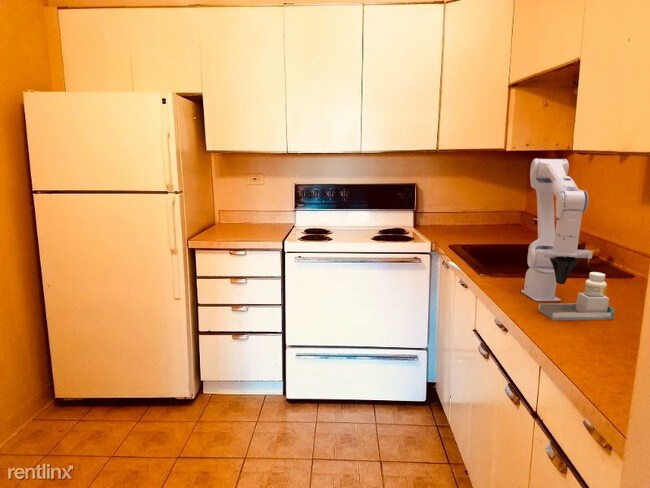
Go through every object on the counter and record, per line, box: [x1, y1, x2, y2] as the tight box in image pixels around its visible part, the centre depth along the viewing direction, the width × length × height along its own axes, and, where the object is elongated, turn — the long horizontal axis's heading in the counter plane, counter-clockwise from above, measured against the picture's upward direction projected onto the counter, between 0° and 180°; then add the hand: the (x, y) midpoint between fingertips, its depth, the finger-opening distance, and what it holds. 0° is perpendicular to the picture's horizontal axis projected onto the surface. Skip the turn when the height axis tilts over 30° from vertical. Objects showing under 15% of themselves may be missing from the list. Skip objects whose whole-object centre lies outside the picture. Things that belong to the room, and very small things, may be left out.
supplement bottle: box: [583, 271, 608, 296], centre depth 129 cm, size 5×5×10 cm
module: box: [576, 292, 610, 312], centre depth 121 cm, size 4×6×5 cm
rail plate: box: [538, 302, 615, 321], centre depth 122 cm, size 17×8×3 cm, turn 93°
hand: (560, 283), depth 120 cm, fingers closed
